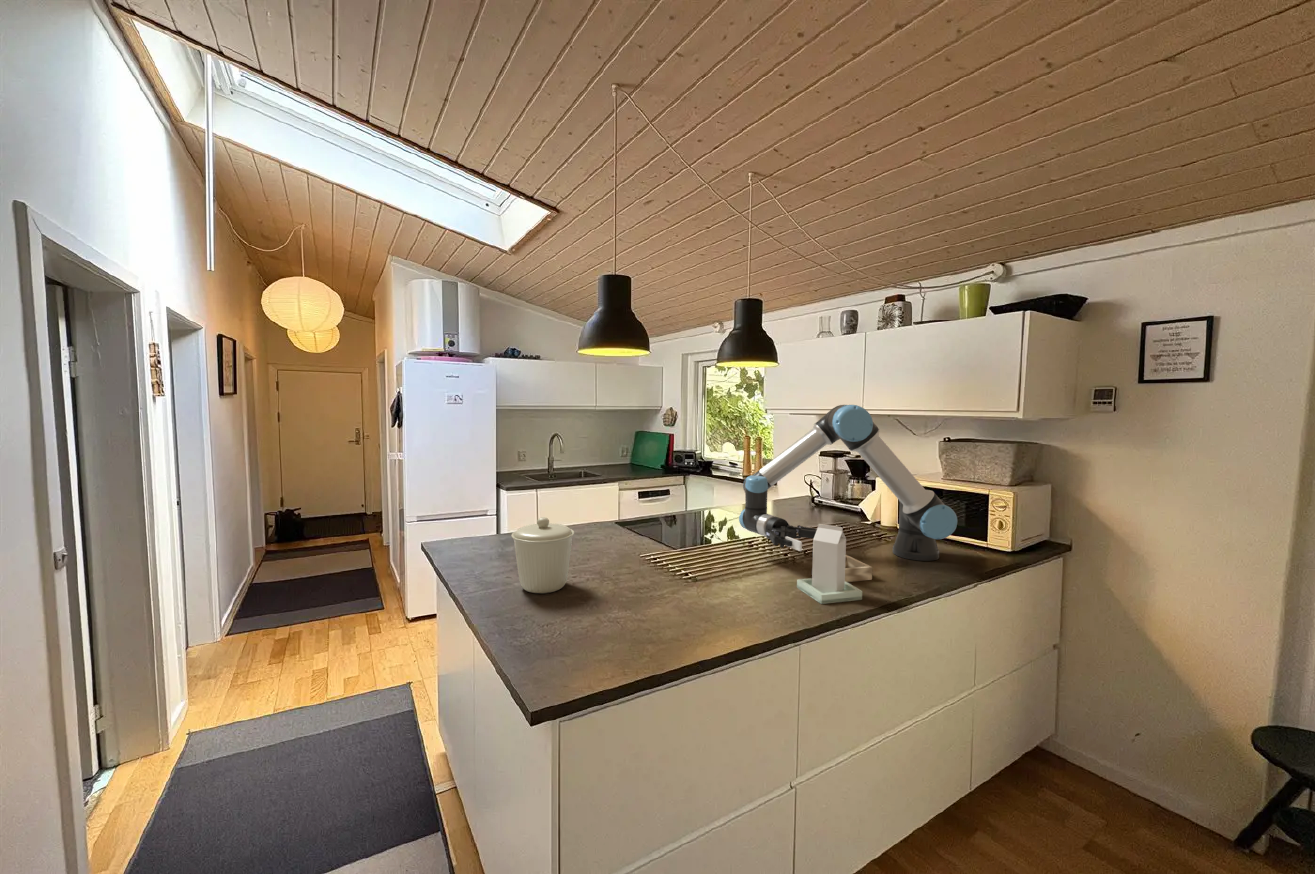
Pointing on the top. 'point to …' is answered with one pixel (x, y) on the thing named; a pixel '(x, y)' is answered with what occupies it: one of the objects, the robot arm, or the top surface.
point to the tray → (823, 598)
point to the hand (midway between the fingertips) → (818, 543)
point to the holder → (856, 570)
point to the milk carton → (829, 559)
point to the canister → (543, 555)
